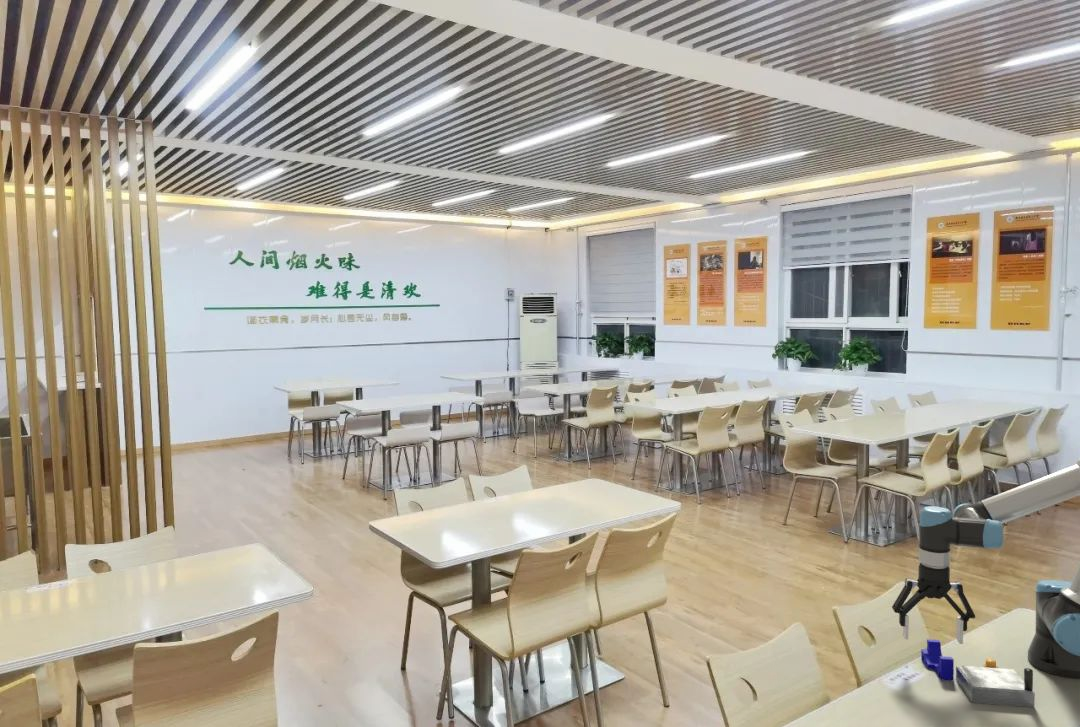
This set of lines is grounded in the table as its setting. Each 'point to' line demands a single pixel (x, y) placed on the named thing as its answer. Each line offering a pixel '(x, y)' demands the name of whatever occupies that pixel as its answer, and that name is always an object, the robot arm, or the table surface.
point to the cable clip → (938, 660)
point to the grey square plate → (996, 685)
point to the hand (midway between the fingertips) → (932, 639)
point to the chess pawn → (990, 663)
